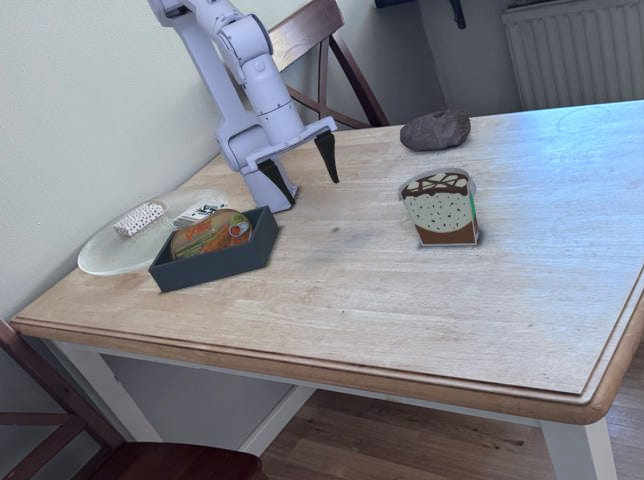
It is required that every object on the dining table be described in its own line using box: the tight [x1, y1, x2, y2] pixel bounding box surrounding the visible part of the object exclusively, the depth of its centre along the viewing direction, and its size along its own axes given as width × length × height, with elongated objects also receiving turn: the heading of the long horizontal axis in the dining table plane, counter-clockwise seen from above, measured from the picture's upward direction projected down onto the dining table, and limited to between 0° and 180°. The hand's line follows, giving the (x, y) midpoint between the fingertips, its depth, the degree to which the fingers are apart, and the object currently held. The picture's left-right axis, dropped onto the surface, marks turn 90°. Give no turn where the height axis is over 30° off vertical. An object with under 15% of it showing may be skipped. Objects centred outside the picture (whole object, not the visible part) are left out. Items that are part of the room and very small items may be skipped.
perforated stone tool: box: [399, 108, 472, 152], centre depth 125 cm, size 15×5×7 cm, turn 67°
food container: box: [397, 166, 480, 247], centre depth 96 cm, size 12×6×10 cm, turn 65°
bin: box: [147, 205, 280, 293], centre depth 116 cm, size 14×20×5 cm
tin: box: [170, 208, 253, 261], centre depth 115 cm, size 15×3×8 cm, turn 117°
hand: (314, 193), depth 101 cm, fingers open, 7 cm apart
